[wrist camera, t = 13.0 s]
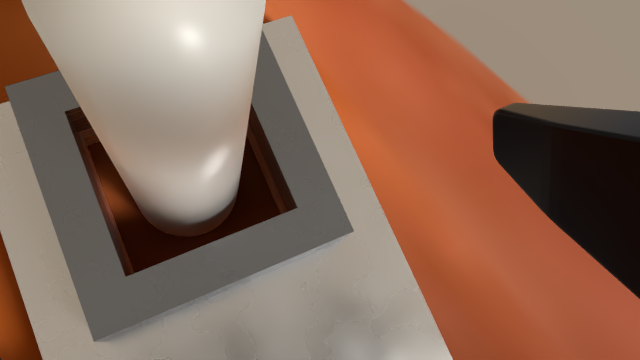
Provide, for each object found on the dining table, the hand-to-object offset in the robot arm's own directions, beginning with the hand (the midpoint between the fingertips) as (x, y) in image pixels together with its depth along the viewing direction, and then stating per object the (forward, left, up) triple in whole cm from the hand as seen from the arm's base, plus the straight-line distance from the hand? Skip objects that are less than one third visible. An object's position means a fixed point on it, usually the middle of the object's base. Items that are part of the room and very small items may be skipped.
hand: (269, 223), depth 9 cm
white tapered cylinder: (+4, +1, -13) cm, 14 cm away
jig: (0, 0, -13) cm, 13 cm away
